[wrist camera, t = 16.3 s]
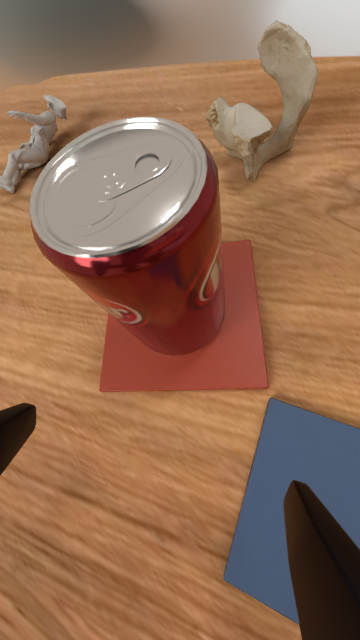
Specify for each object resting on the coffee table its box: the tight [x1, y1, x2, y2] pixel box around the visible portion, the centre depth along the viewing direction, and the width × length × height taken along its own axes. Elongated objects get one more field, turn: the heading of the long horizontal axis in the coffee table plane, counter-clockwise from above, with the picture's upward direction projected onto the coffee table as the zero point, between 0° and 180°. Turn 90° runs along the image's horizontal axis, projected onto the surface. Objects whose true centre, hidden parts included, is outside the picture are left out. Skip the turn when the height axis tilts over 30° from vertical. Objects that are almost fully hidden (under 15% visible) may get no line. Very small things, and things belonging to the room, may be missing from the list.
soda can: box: [30, 117, 226, 356], centre depth 14 cm, size 7×7×12 cm
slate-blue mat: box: [224, 398, 360, 624], centre depth 14 cm, size 10×10×1 cm
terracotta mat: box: [99, 240, 269, 392], centre depth 20 cm, size 12×12×1 cm
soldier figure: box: [0, 95, 67, 193], centre depth 30 cm, size 8×5×12 cm
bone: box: [206, 21, 318, 181], centre depth 22 cm, size 9×6×10 cm
